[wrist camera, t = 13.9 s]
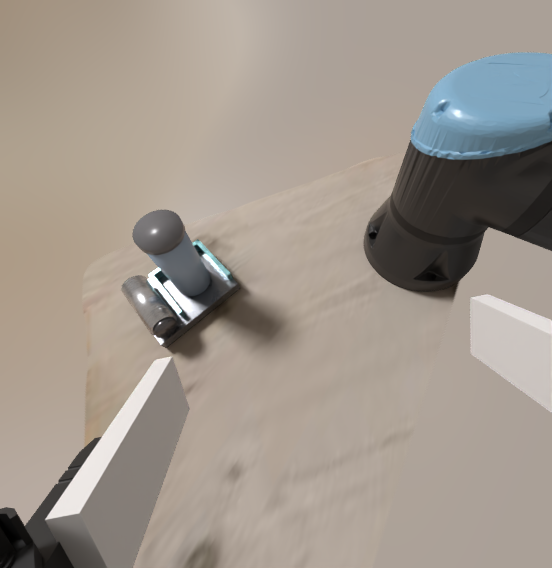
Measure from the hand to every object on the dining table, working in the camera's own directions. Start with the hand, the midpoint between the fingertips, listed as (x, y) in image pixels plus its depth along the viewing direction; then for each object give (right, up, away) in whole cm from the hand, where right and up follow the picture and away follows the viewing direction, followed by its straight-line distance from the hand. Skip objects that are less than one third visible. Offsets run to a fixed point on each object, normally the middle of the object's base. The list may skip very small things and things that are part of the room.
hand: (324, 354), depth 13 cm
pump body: (-14, +4, +29) cm, 33 cm away
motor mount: (-16, +2, +30) cm, 34 cm away
